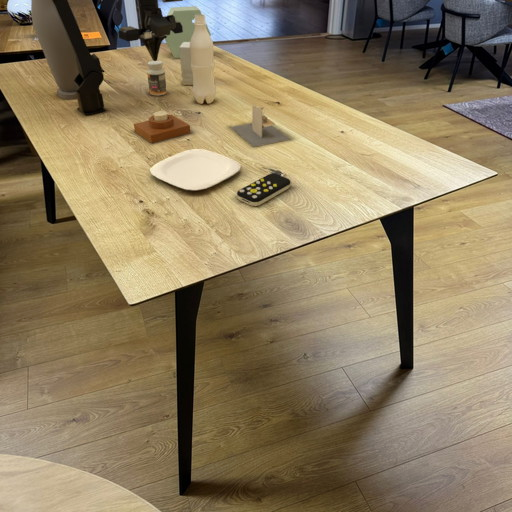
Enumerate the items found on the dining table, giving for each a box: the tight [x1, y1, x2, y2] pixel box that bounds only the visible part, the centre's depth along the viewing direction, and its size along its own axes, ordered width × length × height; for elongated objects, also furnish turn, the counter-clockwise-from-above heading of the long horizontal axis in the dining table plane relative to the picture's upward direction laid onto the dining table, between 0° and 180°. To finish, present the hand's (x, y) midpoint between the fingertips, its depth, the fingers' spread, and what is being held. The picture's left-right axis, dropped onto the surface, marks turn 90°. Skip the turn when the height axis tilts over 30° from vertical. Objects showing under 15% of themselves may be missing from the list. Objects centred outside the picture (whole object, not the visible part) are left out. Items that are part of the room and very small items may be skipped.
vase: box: [30, 0, 80, 100], centre depth 148 cm, size 13×13×35 cm
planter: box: [164, 5, 212, 59], centre depth 193 cm, size 17×8×21 cm
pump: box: [153, 110, 168, 121], centre depth 130 cm, size 4×4×2 cm
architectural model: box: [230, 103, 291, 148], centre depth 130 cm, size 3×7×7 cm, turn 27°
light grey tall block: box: [179, 42, 193, 86], centre depth 165 cm, size 7×7×13 cm
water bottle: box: [190, 13, 217, 105], centre depth 145 cm, size 7×7×25 cm
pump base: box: [133, 113, 191, 144], centre depth 131 cm, size 12×10×4 cm
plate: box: [149, 148, 242, 192], centre depth 112 cm, size 18×18×2 cm
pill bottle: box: [146, 60, 168, 97], centre depth 156 cm, size 6×6×10 cm
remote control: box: [236, 173, 292, 207], centre depth 105 cm, size 6×13×2 cm, turn 138°
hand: (155, 60), depth 146 cm, fingers closed
